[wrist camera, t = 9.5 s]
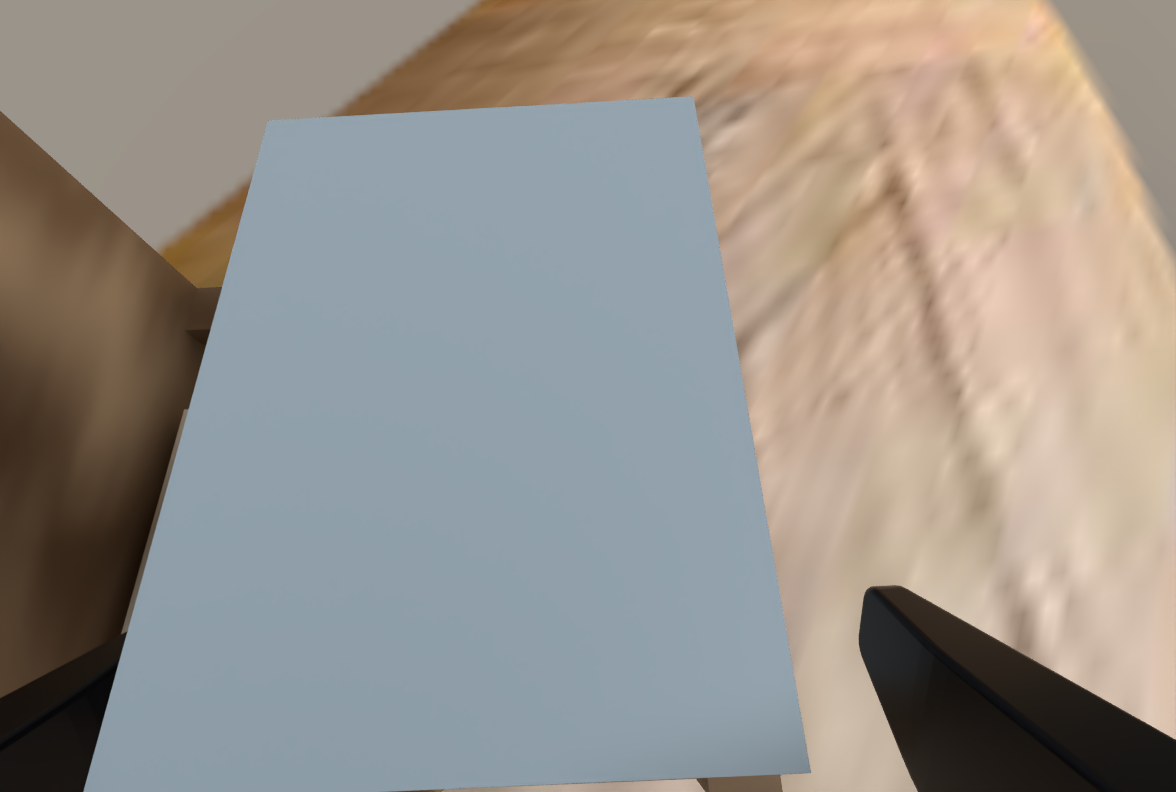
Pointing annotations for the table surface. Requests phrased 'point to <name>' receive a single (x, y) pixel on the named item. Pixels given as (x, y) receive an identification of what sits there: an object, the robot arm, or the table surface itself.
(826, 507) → the table surface
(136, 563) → the book rack
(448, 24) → the table surface
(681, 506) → the blue-gray rectangular box
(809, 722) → the table surface
